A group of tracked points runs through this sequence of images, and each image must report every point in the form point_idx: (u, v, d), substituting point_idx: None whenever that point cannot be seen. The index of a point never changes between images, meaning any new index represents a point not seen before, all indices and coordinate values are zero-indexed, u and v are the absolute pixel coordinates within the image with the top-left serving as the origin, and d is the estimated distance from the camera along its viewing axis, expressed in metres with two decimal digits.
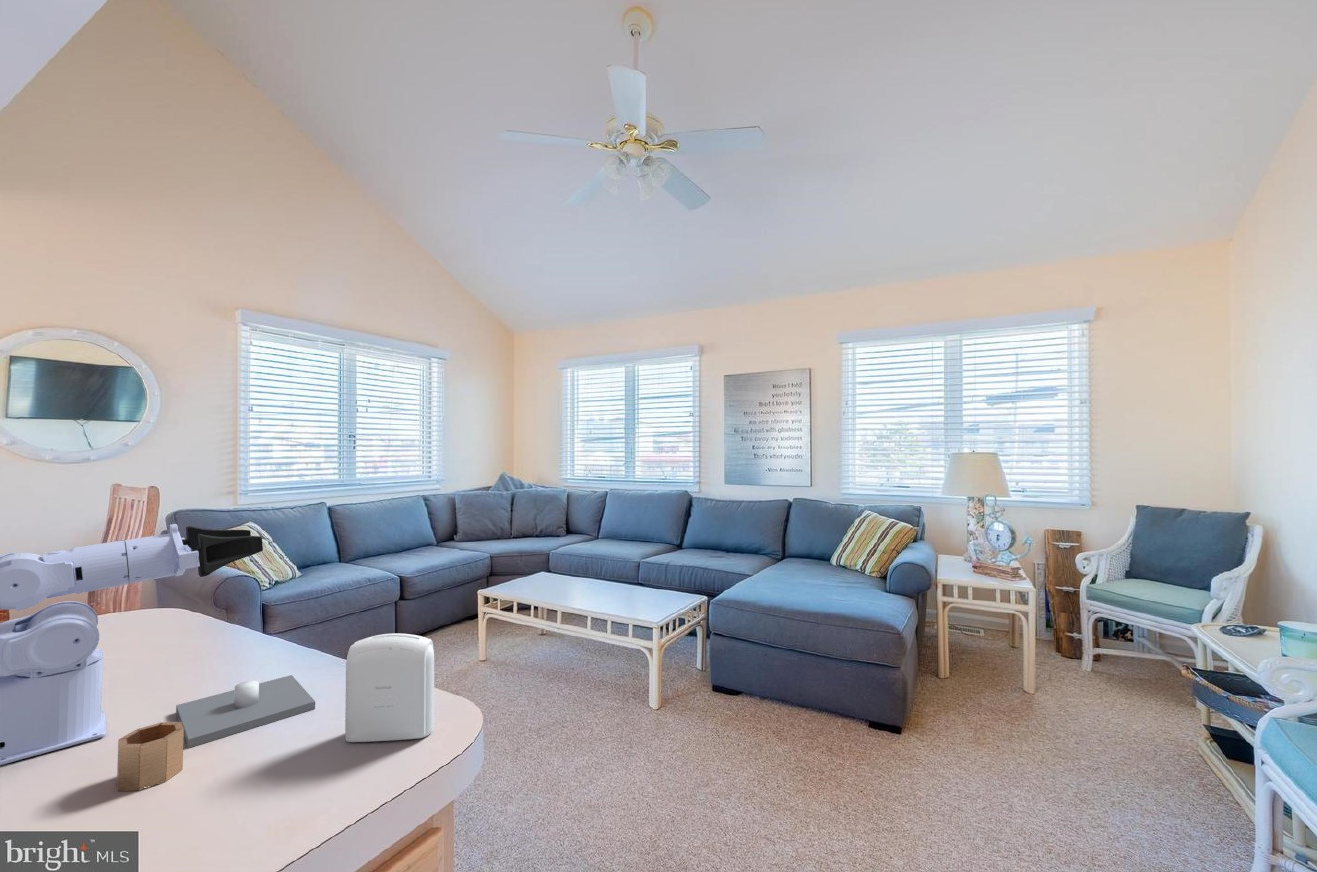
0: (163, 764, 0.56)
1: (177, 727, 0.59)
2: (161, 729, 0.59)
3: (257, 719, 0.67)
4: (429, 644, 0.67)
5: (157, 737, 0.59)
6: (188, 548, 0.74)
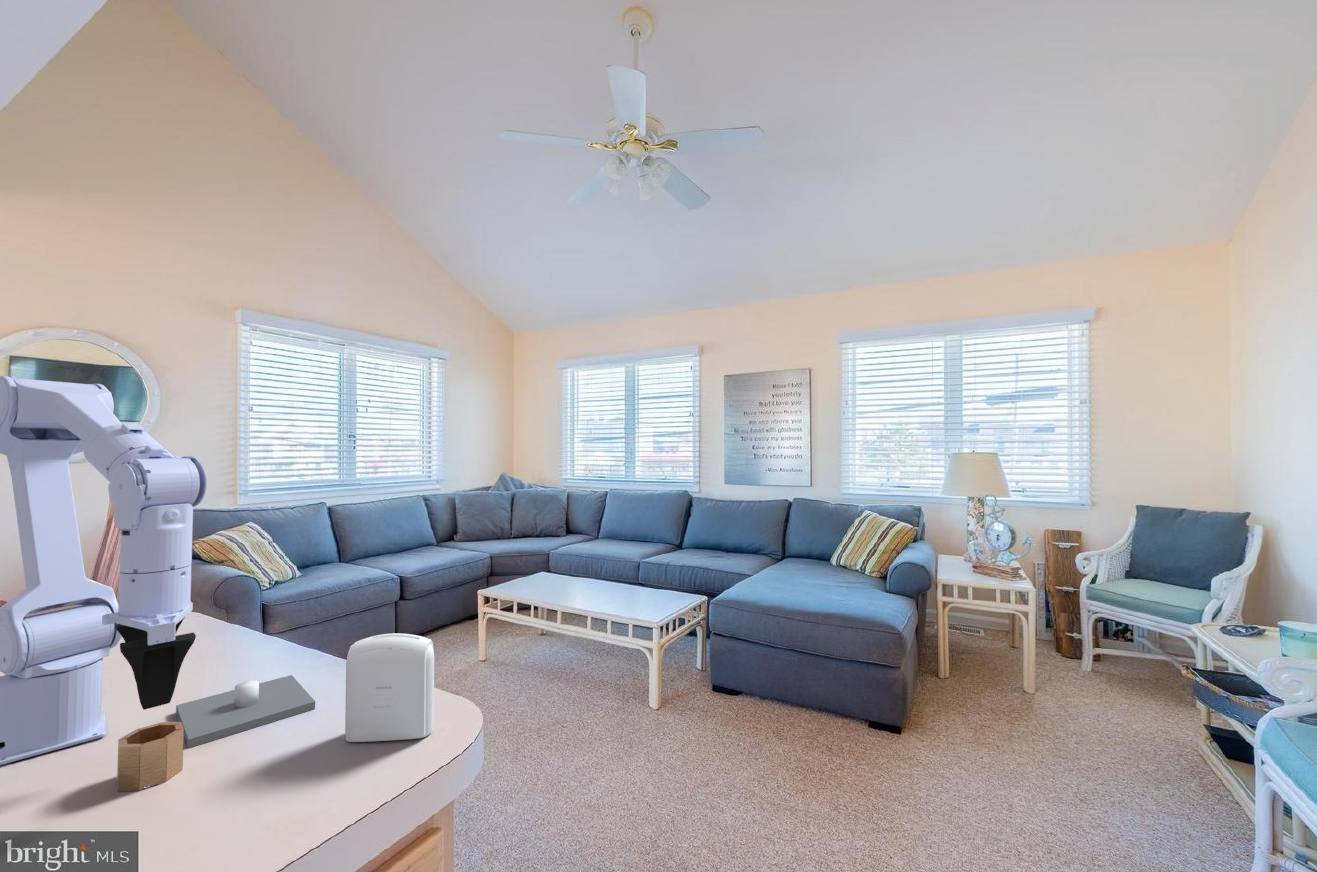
0: (163, 764, 0.56)
1: (177, 727, 0.59)
2: (161, 729, 0.59)
3: (257, 719, 0.67)
4: (429, 644, 0.67)
5: (157, 737, 0.59)
6: None
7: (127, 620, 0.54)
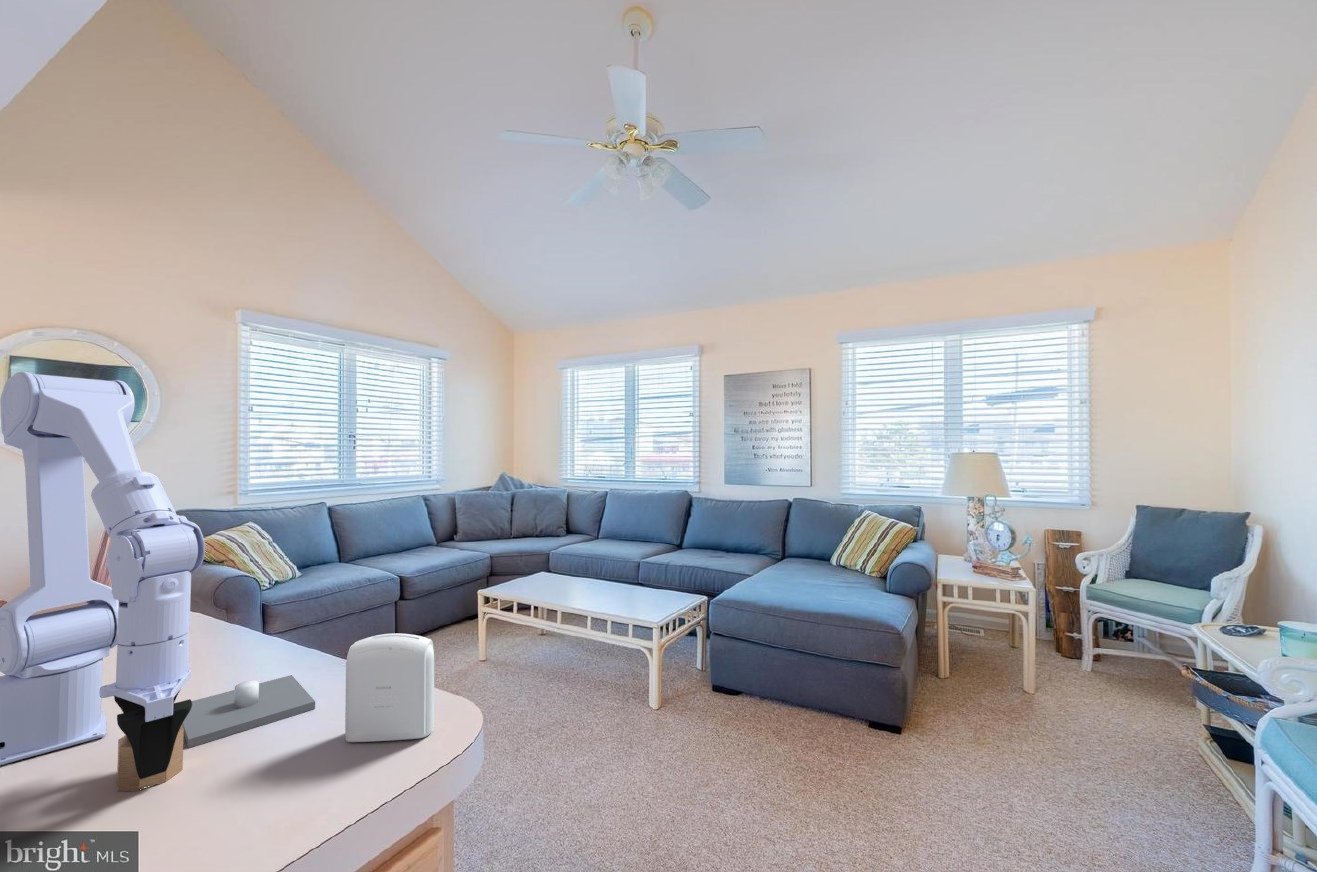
0: None
1: None
2: None
3: (257, 719, 0.67)
4: (429, 644, 0.67)
5: None
6: None
7: (125, 693, 0.54)
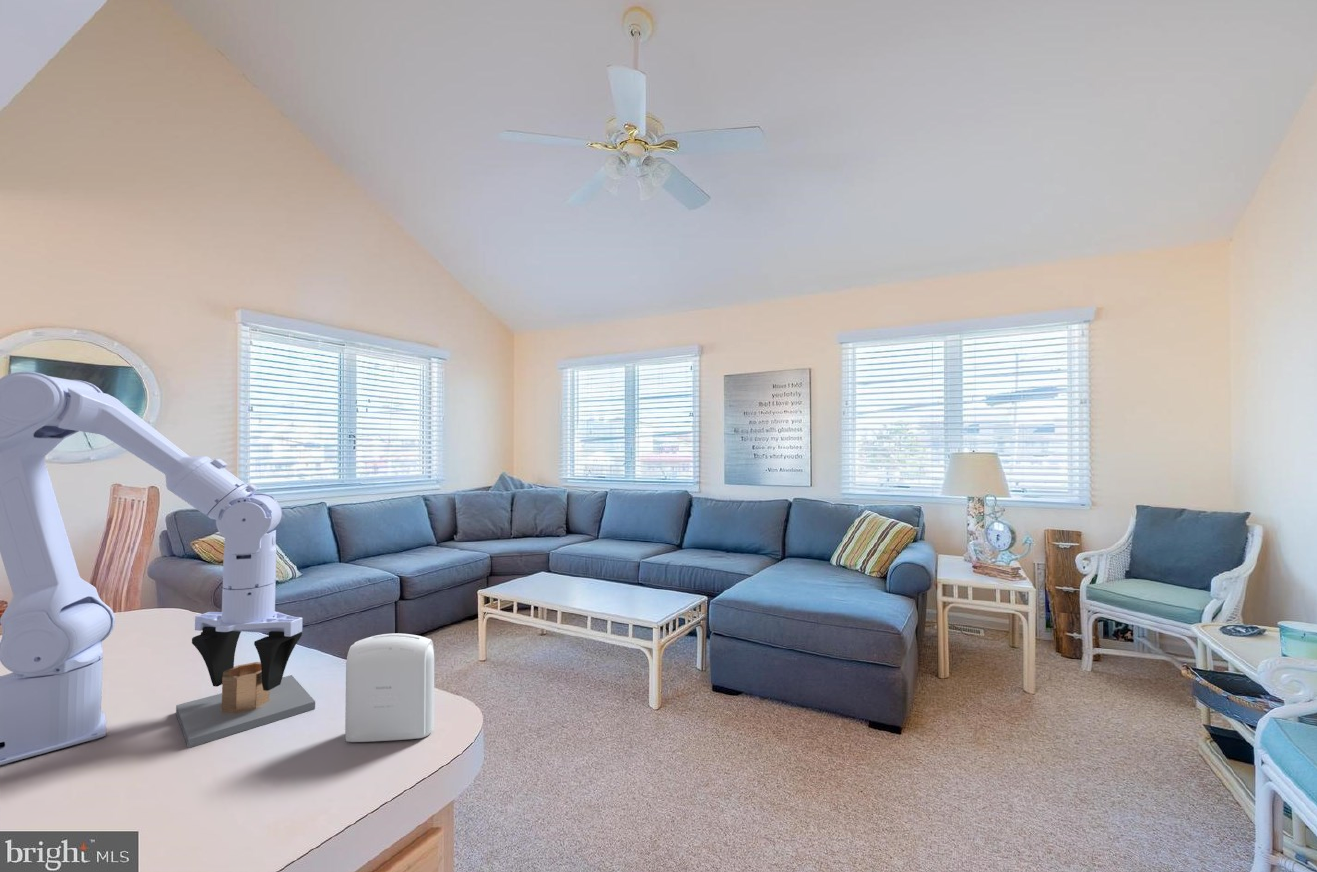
0: None
1: None
2: (241, 670, 0.73)
3: (257, 719, 0.67)
4: (429, 644, 0.67)
5: None
6: (252, 630, 0.71)
7: (250, 624, 0.69)
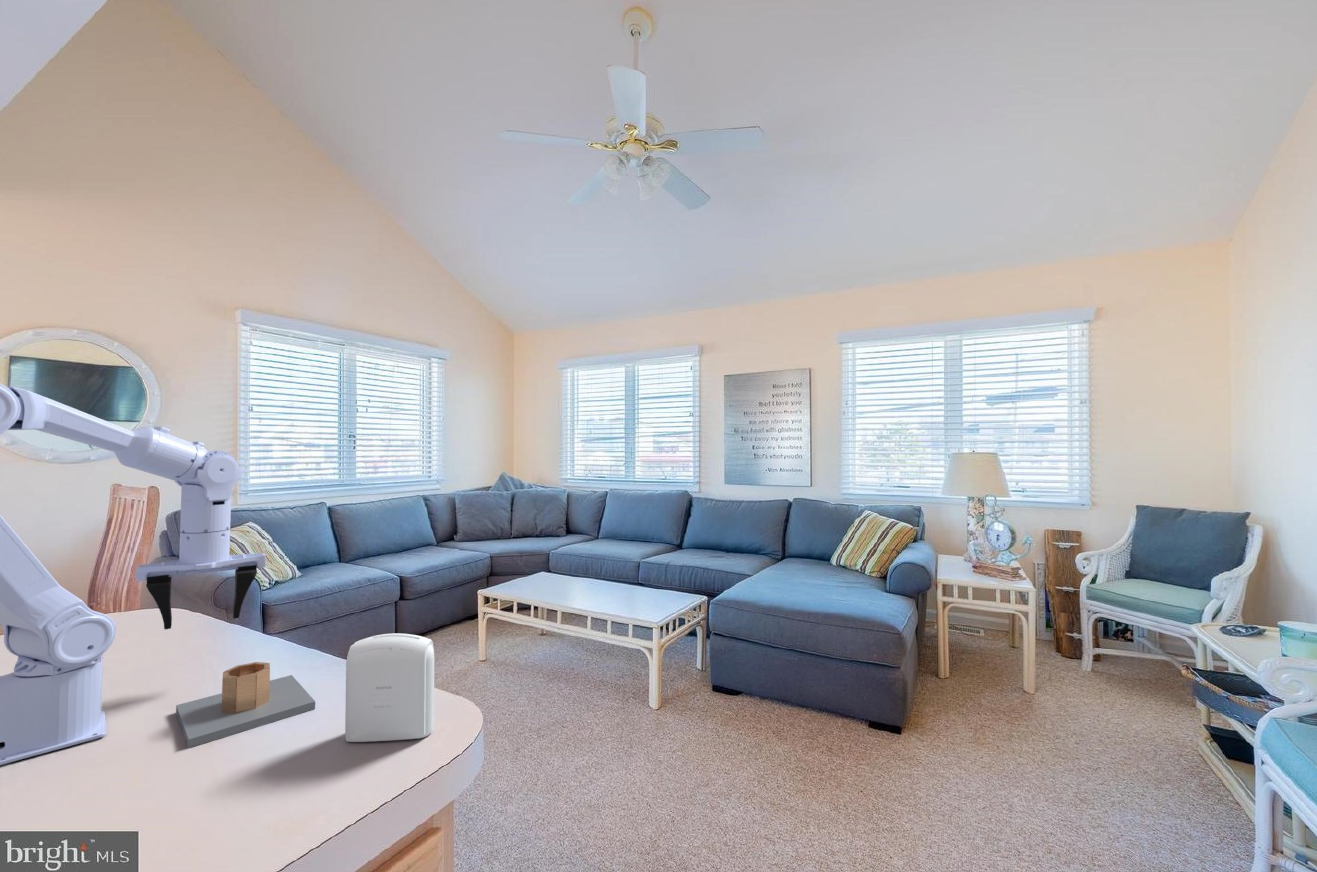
0: (267, 687, 0.72)
1: (261, 663, 0.73)
2: (241, 670, 0.73)
3: (257, 719, 0.67)
4: (429, 644, 0.67)
5: None
6: (212, 570, 0.79)
7: (227, 561, 0.79)
